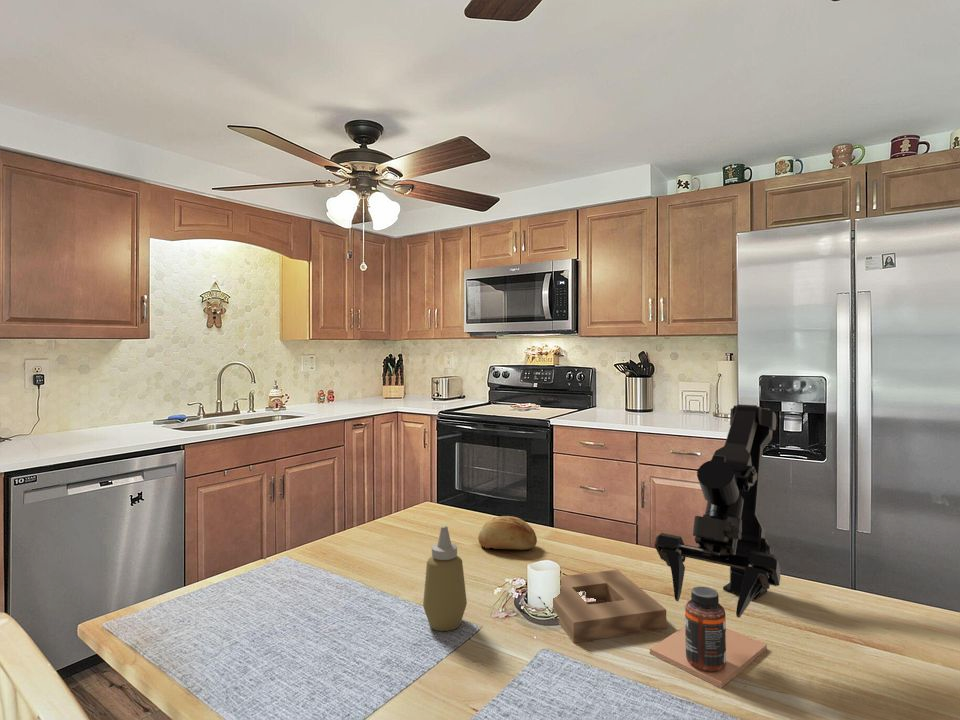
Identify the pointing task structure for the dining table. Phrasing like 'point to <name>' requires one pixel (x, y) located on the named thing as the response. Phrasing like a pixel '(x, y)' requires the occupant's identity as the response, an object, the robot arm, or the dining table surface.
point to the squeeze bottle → (444, 585)
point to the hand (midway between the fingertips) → (706, 608)
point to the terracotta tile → (737, 655)
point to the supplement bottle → (705, 630)
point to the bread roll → (507, 534)
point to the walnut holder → (606, 607)
